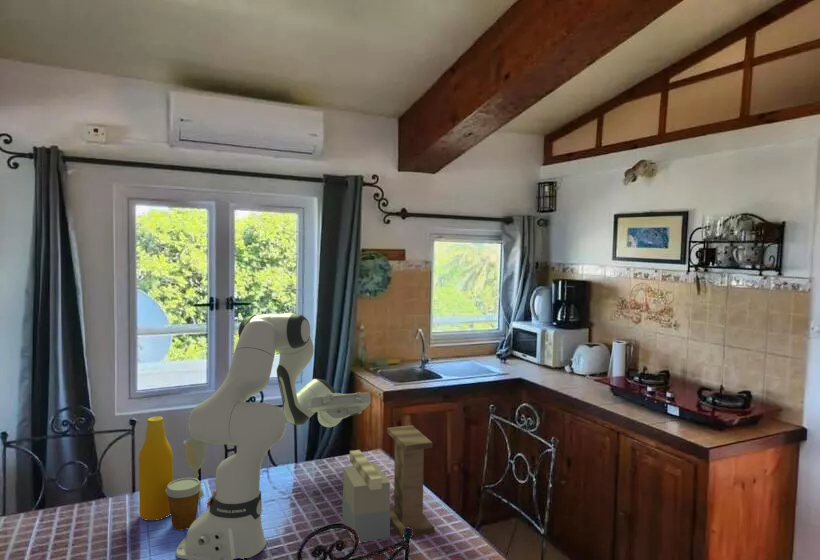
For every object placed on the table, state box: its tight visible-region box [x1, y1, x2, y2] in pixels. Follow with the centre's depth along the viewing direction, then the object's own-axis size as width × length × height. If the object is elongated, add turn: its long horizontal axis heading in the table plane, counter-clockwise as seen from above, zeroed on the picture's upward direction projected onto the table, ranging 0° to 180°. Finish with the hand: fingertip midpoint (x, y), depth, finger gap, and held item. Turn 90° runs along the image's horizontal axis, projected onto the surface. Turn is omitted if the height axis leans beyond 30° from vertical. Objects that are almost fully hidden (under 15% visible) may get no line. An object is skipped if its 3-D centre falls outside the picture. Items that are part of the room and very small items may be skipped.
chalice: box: [183, 437, 207, 499], centre depth 176 cm, size 7×7×18 cm
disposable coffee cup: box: [166, 477, 202, 530], centre depth 158 cm, size 10×10×12 cm
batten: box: [349, 449, 382, 490], centre depth 157 cm, size 22×3×3 cm, turn 21°
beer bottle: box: [138, 416, 174, 520], centre depth 164 cm, size 9×9×29 cm
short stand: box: [386, 424, 435, 539], centre depth 161 cm, size 16×10×26 cm, turn 21°
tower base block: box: [341, 493, 391, 542], centre depth 157 cm, size 14×10×8 cm
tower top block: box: [342, 463, 391, 516], centre depth 157 cm, size 14×10×8 cm
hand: (344, 395), depth 179 cm, fingers open, 8 cm apart
